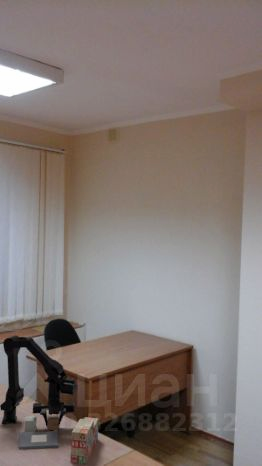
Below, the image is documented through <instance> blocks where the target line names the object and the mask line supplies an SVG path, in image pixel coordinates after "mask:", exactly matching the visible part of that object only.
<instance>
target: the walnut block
mask: <svg viewBox="0 0 262 466" xmlns="http://www.w3.org/2000/svg"><path fill="white" fill-rule="evenodd" d="M59 427H60V425H59V414H58V415H56V414H52V415H49V414H47V427H46V431H50V430H57V431H59Z"/></svg>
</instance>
